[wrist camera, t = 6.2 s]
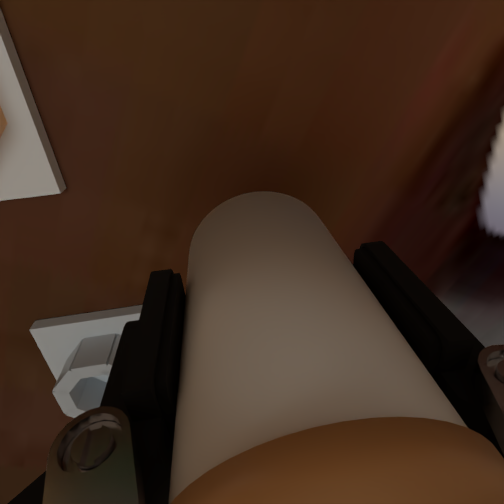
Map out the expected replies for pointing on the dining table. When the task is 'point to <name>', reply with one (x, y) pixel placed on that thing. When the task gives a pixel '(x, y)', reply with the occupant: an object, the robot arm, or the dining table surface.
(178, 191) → the dining table surface
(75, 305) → the dining table surface
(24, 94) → the wide socket
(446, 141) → the dining table surface
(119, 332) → the narrow socket
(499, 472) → the beige peg
